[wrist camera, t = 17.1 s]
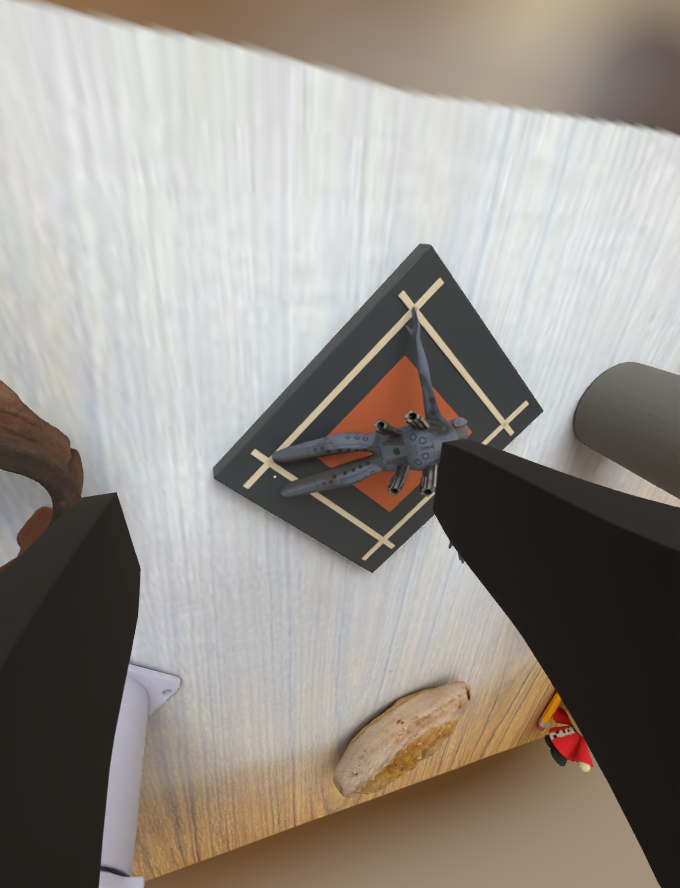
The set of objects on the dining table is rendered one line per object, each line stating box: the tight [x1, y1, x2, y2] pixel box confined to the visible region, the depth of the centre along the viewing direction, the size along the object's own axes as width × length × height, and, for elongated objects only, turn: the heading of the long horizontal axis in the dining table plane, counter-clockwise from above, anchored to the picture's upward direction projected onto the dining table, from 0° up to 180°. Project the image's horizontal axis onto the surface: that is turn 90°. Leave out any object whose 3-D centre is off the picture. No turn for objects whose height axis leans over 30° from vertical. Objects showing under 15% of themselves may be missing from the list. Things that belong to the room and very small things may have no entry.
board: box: [213, 244, 543, 573], centre depth 21 cm, size 14×12×1 cm
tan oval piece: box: [333, 681, 472, 798], centre depth 34 cm, size 5×14×4 cm, turn 121°
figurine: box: [272, 307, 470, 563], centre depth 19 cm, size 12×10×5 cm
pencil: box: [537, 692, 562, 731], centre depth 43 cm, size 1×18×1 cm, turn 171°
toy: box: [545, 706, 593, 772], centre depth 42 cm, size 7×7×15 cm
